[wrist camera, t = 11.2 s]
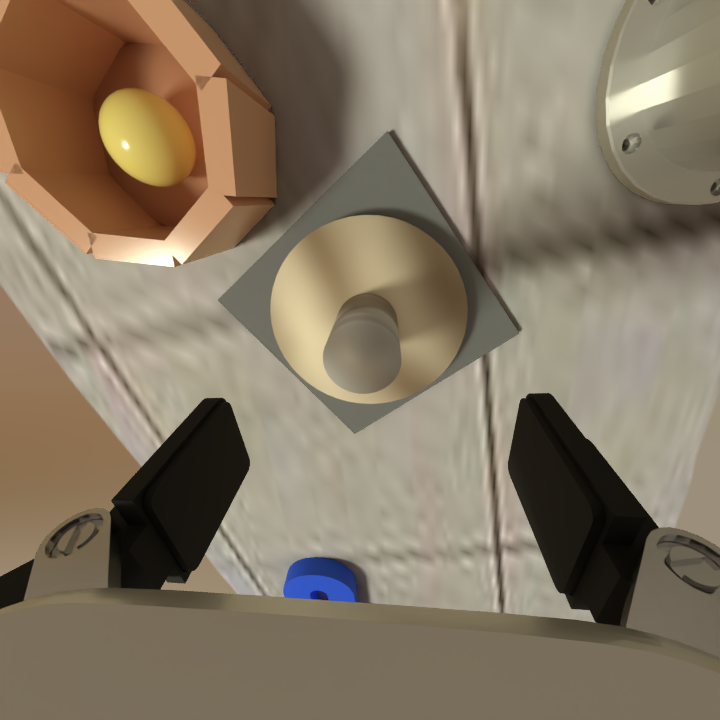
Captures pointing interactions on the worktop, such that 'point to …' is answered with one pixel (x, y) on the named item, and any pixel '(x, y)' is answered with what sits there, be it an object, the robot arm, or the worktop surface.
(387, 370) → the lid
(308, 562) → the bracket
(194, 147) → the bowl
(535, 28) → the worktop surface
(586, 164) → the worktop surface
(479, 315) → the mat
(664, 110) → the robot arm
